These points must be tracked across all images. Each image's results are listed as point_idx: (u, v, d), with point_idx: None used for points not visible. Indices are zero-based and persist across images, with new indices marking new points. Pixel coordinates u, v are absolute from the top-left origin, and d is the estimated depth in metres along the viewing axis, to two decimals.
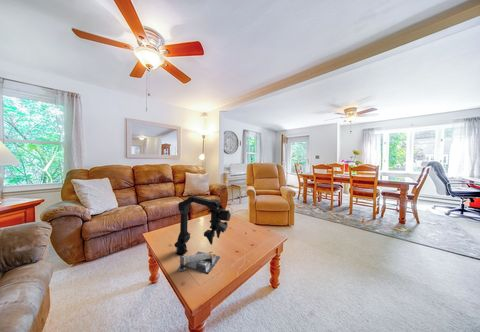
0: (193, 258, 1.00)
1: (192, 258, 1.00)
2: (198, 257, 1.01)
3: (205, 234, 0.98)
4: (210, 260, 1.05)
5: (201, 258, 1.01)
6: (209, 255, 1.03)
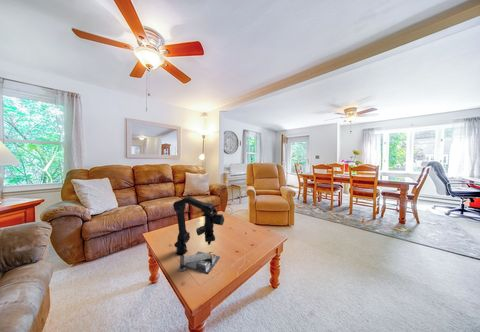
0: (193, 258, 1.00)
1: (192, 258, 1.00)
2: (198, 257, 1.01)
3: None
4: (210, 260, 1.05)
5: (201, 258, 1.01)
6: (209, 255, 1.03)
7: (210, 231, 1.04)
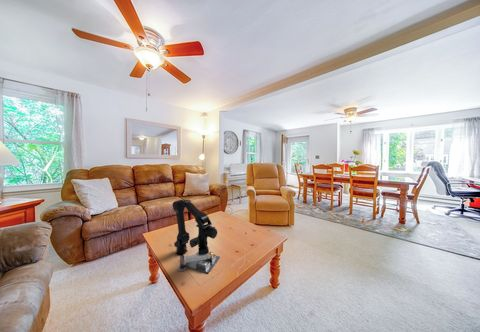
0: (193, 258, 1.00)
1: (192, 258, 0.99)
2: (198, 257, 1.00)
3: None
4: (210, 260, 1.05)
5: (201, 258, 1.01)
6: (209, 255, 1.02)
7: (204, 243, 1.02)
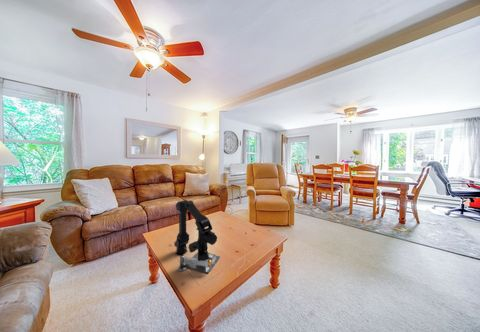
0: (191, 261, 0.97)
1: (190, 261, 0.97)
2: (196, 262, 0.96)
3: None
4: None
5: (199, 263, 0.96)
6: (207, 263, 0.95)
7: (204, 248, 0.97)
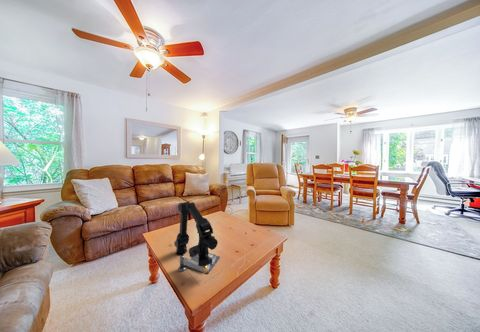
0: (189, 263, 0.95)
1: (188, 263, 0.95)
2: (193, 265, 0.93)
3: None
4: (210, 260, 1.05)
5: (195, 267, 0.93)
6: (202, 268, 0.90)
7: (204, 252, 0.92)
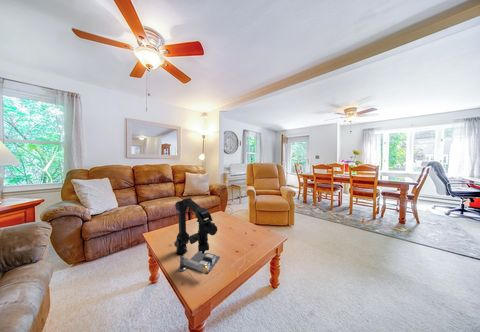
0: (189, 263, 0.95)
1: (188, 263, 0.95)
2: (193, 265, 0.93)
3: None
4: (210, 260, 1.05)
5: (195, 267, 0.93)
6: (202, 268, 0.90)
7: (204, 239, 0.96)
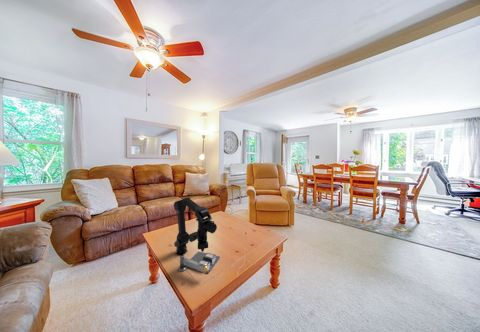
0: (189, 263, 0.95)
1: (188, 263, 0.95)
2: (193, 265, 0.93)
3: None
4: (210, 260, 1.05)
5: (195, 267, 0.93)
6: (202, 268, 0.90)
7: (203, 237, 0.98)
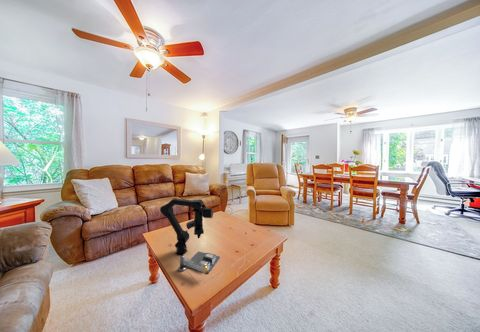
0: (189, 263, 0.95)
1: (188, 263, 0.95)
2: (193, 265, 0.93)
3: None
4: (210, 260, 1.05)
5: (195, 267, 0.93)
6: (202, 268, 0.90)
7: (199, 225, 1.11)
